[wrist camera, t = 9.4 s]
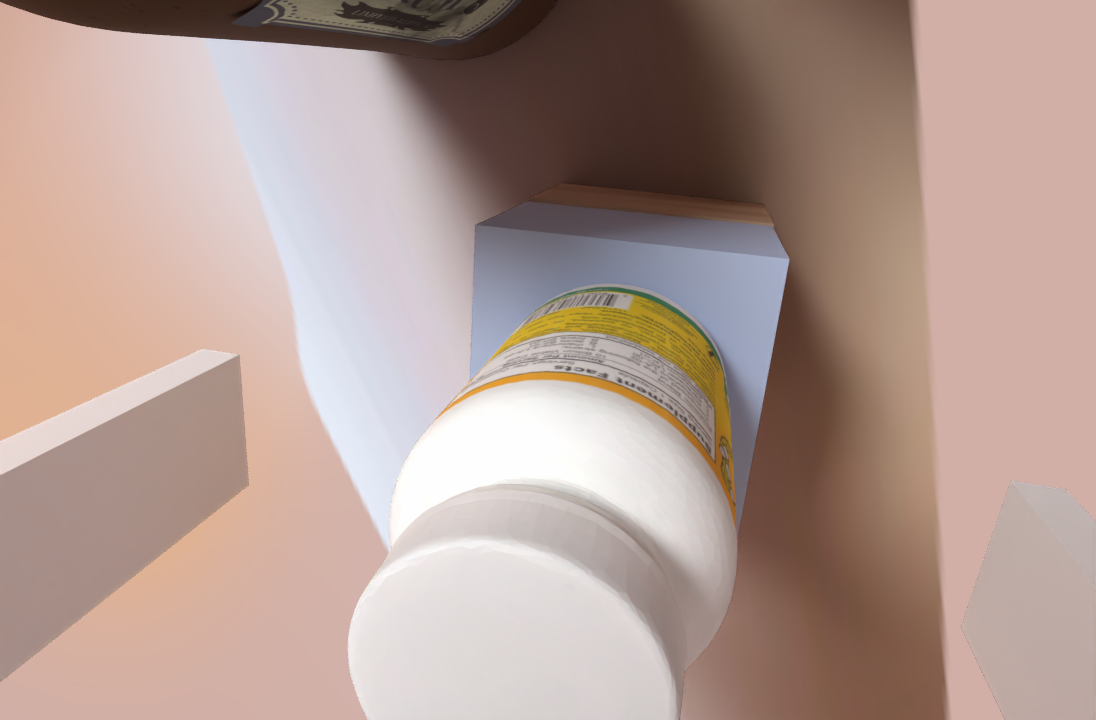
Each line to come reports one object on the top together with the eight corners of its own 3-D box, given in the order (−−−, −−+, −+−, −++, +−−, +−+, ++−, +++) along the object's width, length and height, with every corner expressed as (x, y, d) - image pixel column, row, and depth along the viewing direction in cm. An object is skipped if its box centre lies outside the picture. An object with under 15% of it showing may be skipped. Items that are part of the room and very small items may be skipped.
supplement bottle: (580, 233, 16) (416, 381, 7) (779, 367, 16) (863, 681, 7) (466, 411, 18) (229, 698, 9) (643, 529, 18) (576, 931, 9)
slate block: (528, 201, 21) (475, 224, 16) (772, 225, 20) (789, 259, 15) (514, 417, 23) (465, 491, 19) (732, 452, 22) (736, 540, 18)
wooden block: (563, 182, 26) (530, 197, 21) (763, 203, 24) (774, 223, 20) (547, 365, 28) (514, 414, 23) (729, 392, 27) (732, 450, 22)
